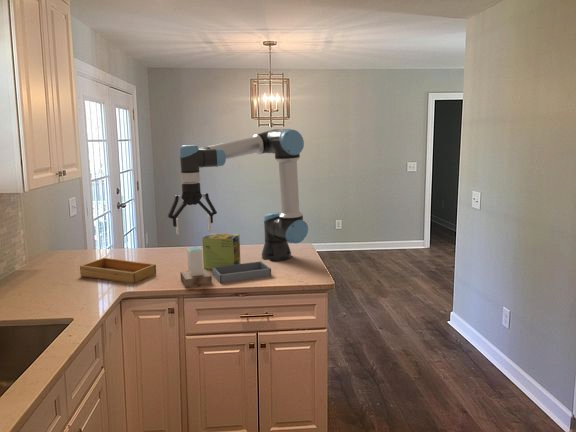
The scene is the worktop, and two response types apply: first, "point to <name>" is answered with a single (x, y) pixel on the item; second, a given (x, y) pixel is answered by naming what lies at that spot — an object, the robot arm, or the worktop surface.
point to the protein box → (221, 250)
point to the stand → (195, 279)
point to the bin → (241, 272)
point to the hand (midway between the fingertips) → (193, 232)
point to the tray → (118, 270)
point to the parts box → (195, 261)
